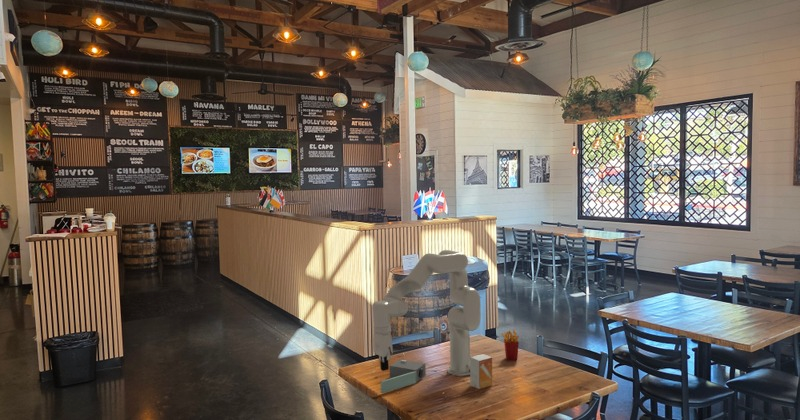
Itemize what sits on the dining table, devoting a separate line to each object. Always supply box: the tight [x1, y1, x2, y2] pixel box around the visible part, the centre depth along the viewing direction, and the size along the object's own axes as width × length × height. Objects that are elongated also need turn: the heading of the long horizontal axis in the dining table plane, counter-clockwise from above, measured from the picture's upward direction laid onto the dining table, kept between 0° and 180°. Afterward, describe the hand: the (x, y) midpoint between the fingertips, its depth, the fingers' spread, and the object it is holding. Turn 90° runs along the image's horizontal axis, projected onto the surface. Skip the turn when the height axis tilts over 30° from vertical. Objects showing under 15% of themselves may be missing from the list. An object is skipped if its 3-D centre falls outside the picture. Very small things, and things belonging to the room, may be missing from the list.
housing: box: [389, 358, 427, 384], centre depth 248 cm, size 15×10×7 cm, turn 61°
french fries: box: [501, 329, 520, 362], centre depth 271 cm, size 9×8×15 cm
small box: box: [469, 353, 493, 390], centre depth 236 cm, size 8×6×13 cm
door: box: [380, 371, 417, 394], centre depth 235 cm, size 20×1×5 cm, turn 127°
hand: (384, 369), depth 232 cm, fingers closed
